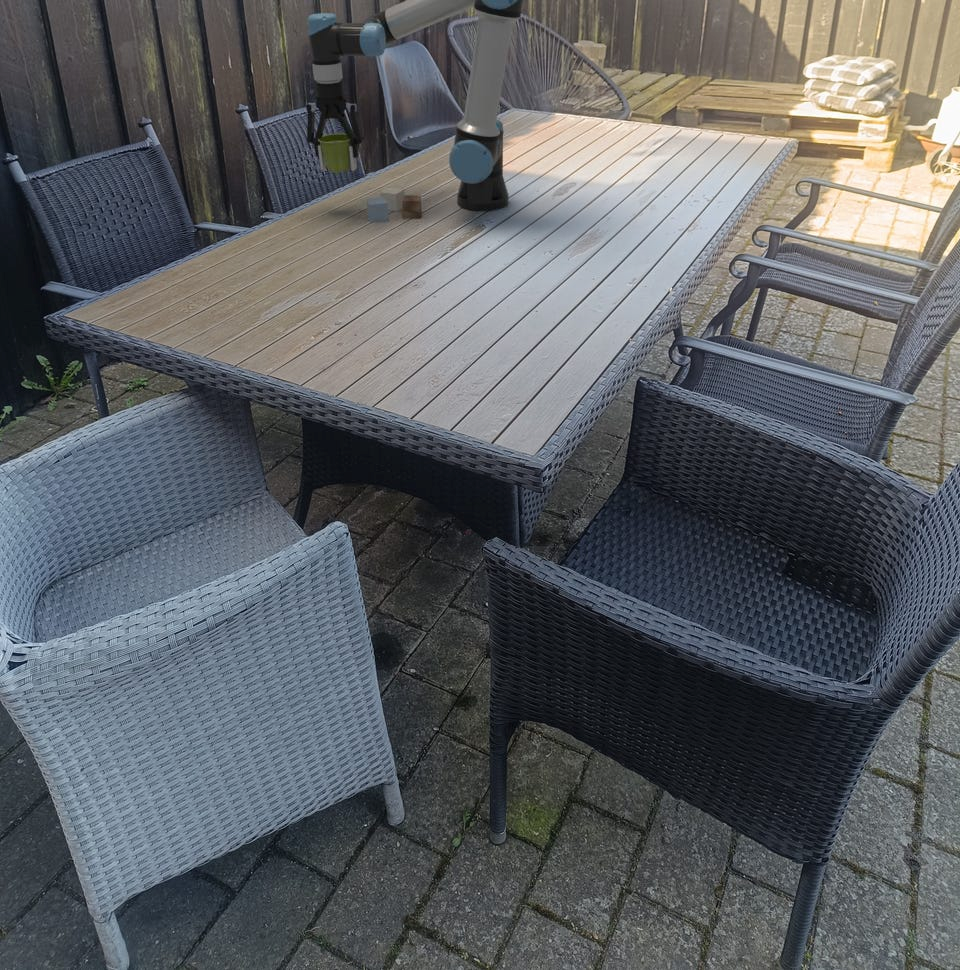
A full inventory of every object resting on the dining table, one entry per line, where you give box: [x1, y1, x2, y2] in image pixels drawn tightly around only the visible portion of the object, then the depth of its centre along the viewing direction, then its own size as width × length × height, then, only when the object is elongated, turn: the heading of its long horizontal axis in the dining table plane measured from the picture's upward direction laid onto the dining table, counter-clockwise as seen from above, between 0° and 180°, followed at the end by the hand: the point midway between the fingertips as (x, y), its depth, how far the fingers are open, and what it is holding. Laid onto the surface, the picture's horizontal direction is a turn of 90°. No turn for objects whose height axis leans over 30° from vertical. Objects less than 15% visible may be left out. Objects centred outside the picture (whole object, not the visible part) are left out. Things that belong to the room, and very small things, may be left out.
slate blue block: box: [365, 197, 389, 223], centre depth 236 cm, size 5×5×5 cm
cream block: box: [380, 187, 406, 212], centre depth 243 cm, size 5×5×5 cm
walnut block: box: [402, 194, 423, 220], centre depth 238 cm, size 5×5×5 cm
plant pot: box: [318, 133, 351, 174], centre depth 233 cm, size 9×9×9 cm
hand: (338, 169), depth 236 cm, fingers closed on plant pot, 8 cm apart
